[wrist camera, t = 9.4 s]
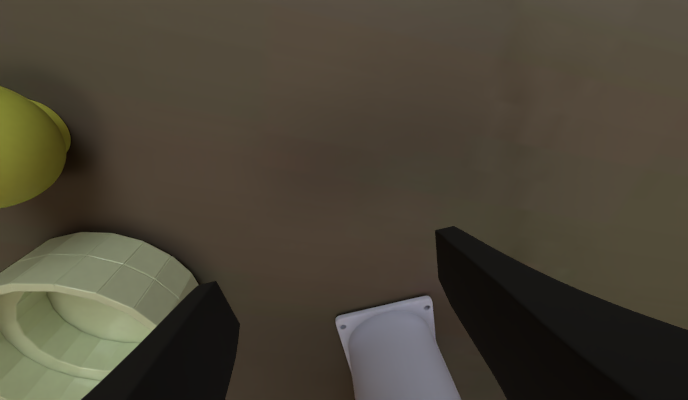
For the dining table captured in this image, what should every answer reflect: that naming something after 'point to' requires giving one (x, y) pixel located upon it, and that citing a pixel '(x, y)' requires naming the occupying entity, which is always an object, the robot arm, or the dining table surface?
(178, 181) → the dining table surface
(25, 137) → the pear
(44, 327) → the bowl
